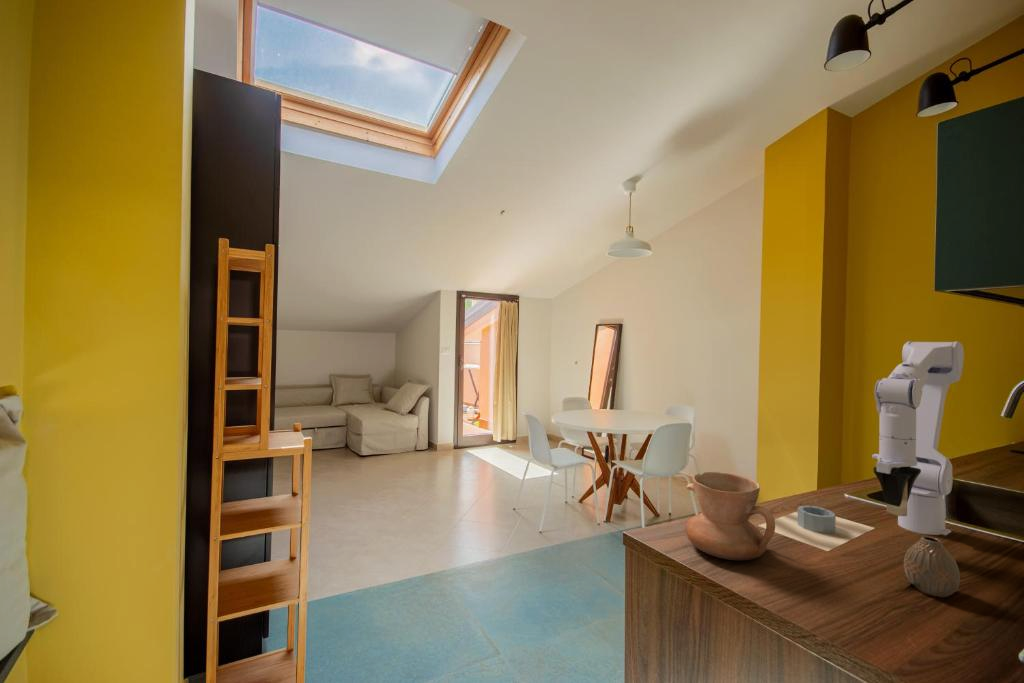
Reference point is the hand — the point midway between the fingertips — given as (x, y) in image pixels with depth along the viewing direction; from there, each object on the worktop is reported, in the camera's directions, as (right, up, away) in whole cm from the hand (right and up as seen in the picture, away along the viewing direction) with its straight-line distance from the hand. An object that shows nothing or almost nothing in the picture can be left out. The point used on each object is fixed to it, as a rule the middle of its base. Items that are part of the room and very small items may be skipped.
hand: (896, 503), depth 91 cm
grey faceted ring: (-11, -8, +8) cm, 16 cm away
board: (-11, -9, +8) cm, 16 cm away
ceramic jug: (-36, -9, -2) cm, 37 cm away
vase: (-8, -9, -16) cm, 20 cm away
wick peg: (0, -2, 0) cm, 2 cm away
